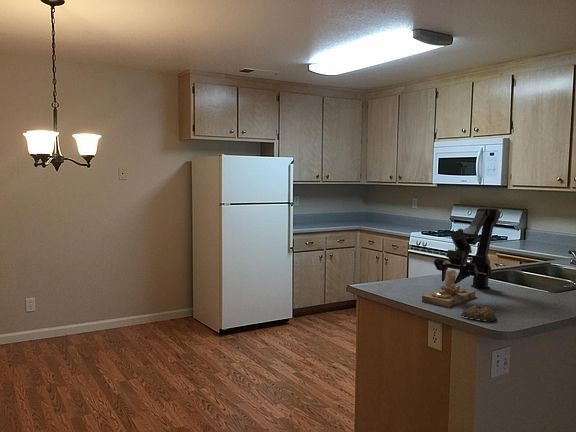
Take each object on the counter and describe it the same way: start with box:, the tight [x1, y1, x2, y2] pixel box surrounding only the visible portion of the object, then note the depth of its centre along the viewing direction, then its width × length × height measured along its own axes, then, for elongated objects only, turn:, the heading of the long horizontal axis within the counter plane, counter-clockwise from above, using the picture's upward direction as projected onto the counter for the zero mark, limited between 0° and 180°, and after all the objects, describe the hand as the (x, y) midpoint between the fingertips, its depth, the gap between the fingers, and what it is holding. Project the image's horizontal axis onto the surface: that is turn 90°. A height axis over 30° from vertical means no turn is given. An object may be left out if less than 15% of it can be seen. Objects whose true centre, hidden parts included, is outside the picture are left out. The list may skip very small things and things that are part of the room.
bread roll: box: [460, 304, 497, 322], centre depth 192 cm, size 13×12×5 cm
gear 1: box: [431, 290, 451, 299], centre depth 213 cm, size 8×8×2 cm
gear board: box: [421, 289, 476, 308], centre depth 218 cm, size 26×12×2 cm, turn 136°
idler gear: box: [440, 269, 459, 296], centre depth 218 cm, size 7×7×12 cm
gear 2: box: [455, 285, 468, 293], centre depth 224 cm, size 8×8×2 cm
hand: (448, 282), depth 217 cm, fingers open, 6 cm apart
